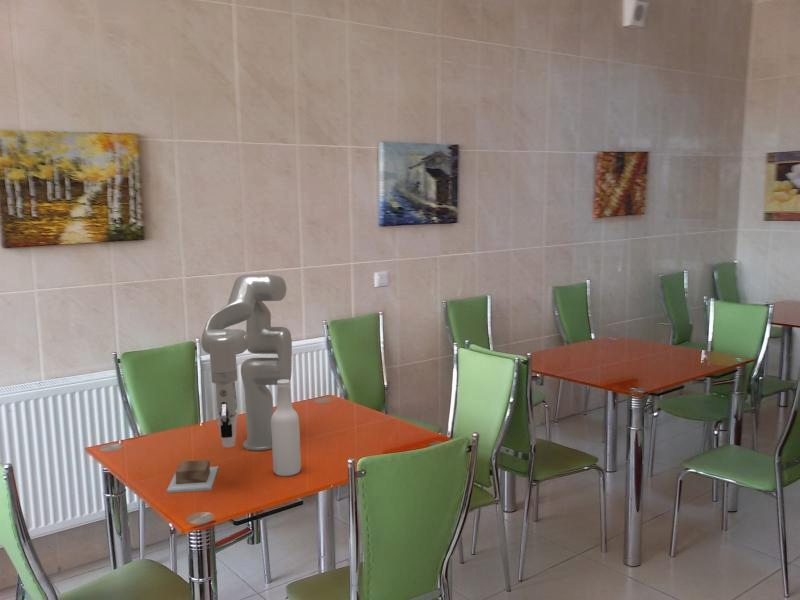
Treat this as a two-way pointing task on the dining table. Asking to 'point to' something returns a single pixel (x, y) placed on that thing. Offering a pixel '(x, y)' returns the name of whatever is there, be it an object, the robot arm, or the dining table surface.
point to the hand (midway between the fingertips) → (228, 432)
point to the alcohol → (285, 434)
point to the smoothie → (231, 440)
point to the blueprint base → (209, 482)
